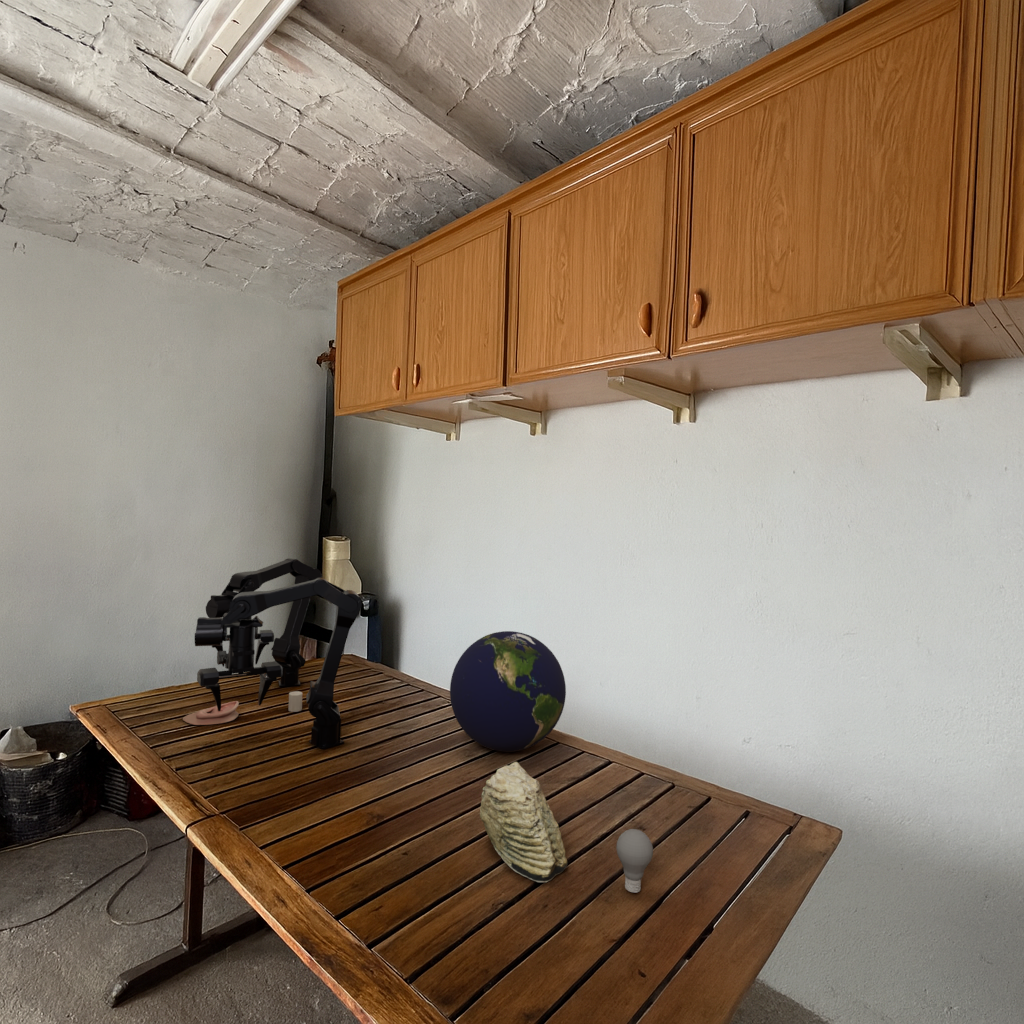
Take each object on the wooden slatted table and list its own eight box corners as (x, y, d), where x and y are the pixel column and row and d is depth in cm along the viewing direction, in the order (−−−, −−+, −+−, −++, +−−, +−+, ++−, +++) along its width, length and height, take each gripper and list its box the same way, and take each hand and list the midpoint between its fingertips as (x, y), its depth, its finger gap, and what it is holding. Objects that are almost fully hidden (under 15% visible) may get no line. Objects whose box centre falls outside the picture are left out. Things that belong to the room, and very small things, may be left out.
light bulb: (610, 879, 108) (613, 822, 108) (644, 879, 109) (647, 822, 109) (619, 902, 102) (622, 840, 102) (655, 901, 103) (658, 840, 103)
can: (289, 707, 188) (290, 691, 188) (302, 707, 188) (303, 691, 188) (287, 712, 184) (288, 695, 184) (300, 711, 185) (301, 695, 185)
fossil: (501, 827, 124) (504, 751, 124) (575, 868, 111) (578, 784, 111) (467, 843, 118) (470, 763, 118) (541, 889, 105) (545, 799, 105)
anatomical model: (175, 707, 171) (204, 695, 183) (174, 722, 172) (203, 709, 183) (218, 713, 169) (245, 700, 180) (218, 728, 169) (244, 714, 180)
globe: (494, 719, 185) (499, 617, 185) (584, 745, 168) (589, 633, 167) (423, 749, 161) (428, 631, 160) (519, 784, 143) (525, 652, 143)
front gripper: (273, 634, 167) (270, 693, 167) (194, 641, 156) (192, 704, 157) (284, 643, 158) (282, 706, 158) (201, 651, 147) (199, 717, 148)
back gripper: (207, 620, 183) (205, 674, 183) (276, 618, 191) (274, 669, 191) (208, 613, 193) (206, 664, 193) (273, 611, 201) (271, 660, 201)
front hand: (239, 707), depth 155 cm, fingers open, 9 cm apart
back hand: (239, 665), depth 194 cm, fingers open, 9 cm apart
